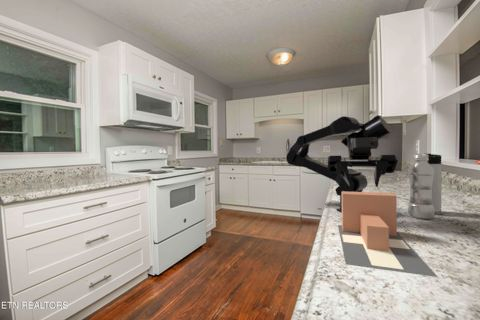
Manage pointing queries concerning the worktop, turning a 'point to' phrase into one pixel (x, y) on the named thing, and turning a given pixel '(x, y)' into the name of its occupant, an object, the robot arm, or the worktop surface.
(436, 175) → the travel mug
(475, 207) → the worktop surface
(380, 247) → the t block
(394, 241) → the mat
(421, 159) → the plastic bottle
